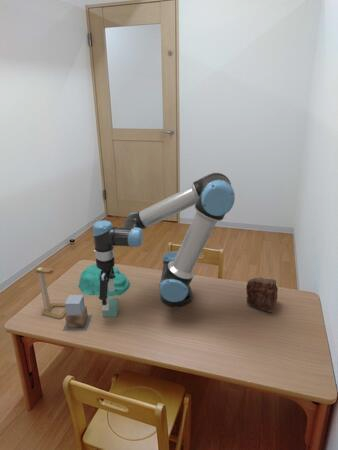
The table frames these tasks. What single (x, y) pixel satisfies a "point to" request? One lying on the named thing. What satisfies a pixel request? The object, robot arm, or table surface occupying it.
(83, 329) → the coaster
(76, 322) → the base block
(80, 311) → the gray block
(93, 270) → the decorative stone
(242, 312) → the table surface
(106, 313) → the teal block
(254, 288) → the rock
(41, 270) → the headphone stand
